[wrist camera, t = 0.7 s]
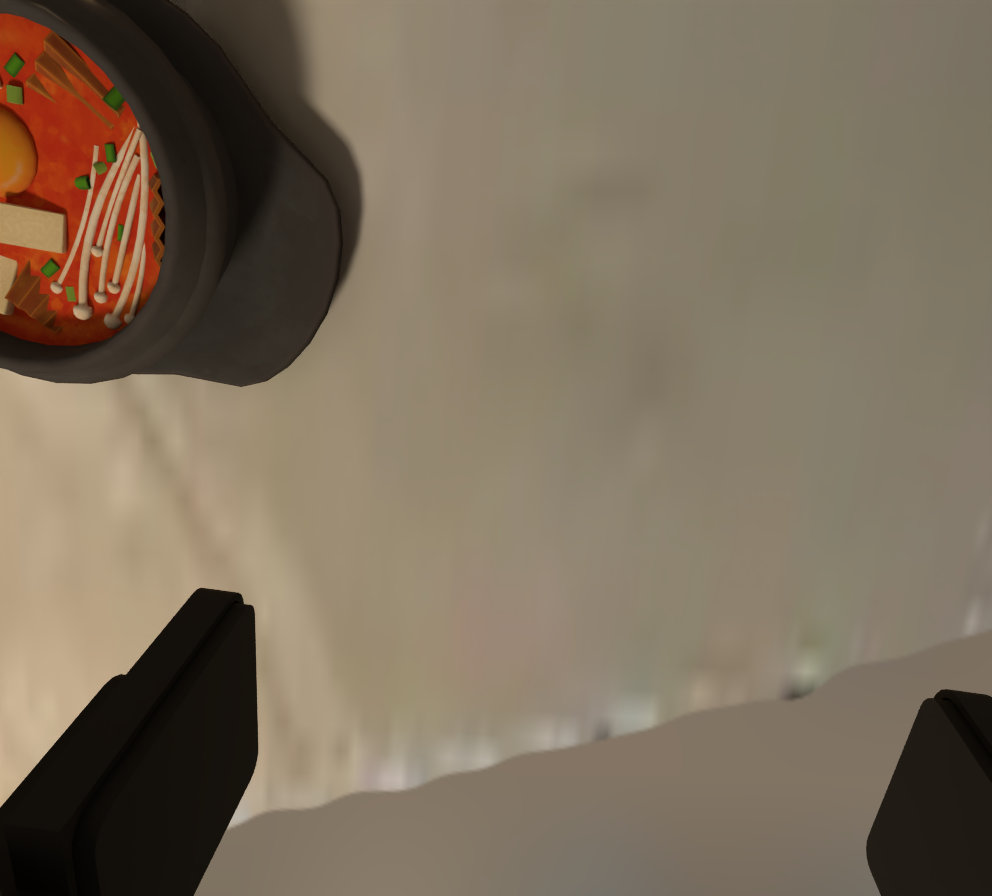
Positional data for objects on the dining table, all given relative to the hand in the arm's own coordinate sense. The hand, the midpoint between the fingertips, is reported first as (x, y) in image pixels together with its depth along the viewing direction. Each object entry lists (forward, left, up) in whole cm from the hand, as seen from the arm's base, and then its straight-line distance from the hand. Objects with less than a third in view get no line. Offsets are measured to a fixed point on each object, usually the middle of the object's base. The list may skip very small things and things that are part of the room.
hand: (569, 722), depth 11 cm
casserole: (-3, -23, -30) cm, 38 cm away
